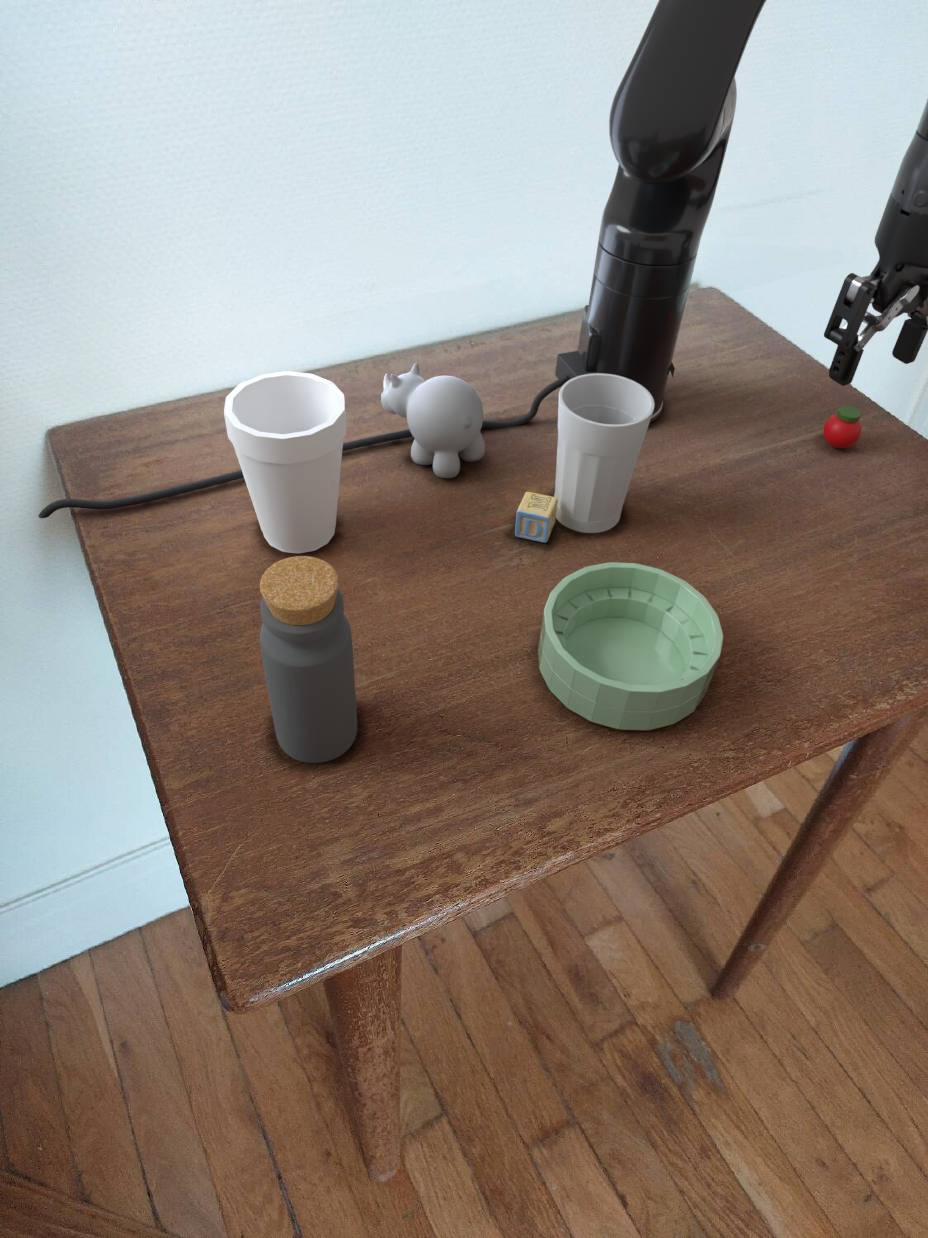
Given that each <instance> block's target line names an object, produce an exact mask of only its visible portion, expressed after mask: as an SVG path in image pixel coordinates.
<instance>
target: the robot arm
mask: <svg viewBox="0 0 928 1238" xmlns="http://www.w3.org/2000/svg"><path fill="white" fill-rule="evenodd" d="M766 2H767V0H658V1H657V4H656V6H655V7H654V10H653V13H652V15H651V17H650V19H649V22H648V24H647V26H646V28H645V30H644V32H643V35H642V36H641V39H640V41H639V43H638V46H637V47H636V50H635V52H634V54H633V56H632V58H631V60H630V62H629V64H628V66H627V69H626V71H625V72H624V74H623V77H622V78H621V81H620V83H619V85H618V87H617V89H616V91H615V93H614V96H613V98H612V103H611V106H610V110H609V118H608V136H609V143H610V146H611V149H612V152H613V156H614V158H615V160H616V162H617V163H618V166H617V170H616V174H615V177H614V181H613V184H612V187H611V190H610V193H609V196H608V198H607V201H606V203H605V206H604V209H603V212H602V216H601V221H600V228H599V234H598V242H597V248H596V254H595V260H594V267H593V273H592V280H591V287H590V293H589V298H588V299H589V300H588V304H586V305H585V306H584V307H583V312H582V319H581V325H580V332H579V338H578V346H577V350H574V351H573V350H572V351H569V352H563V353H562V352H561V353H558V354H557V357H556V365H555V371H554V372H555V373H554V375H555V377H556V378H557V380H554V381H553V382H551V383H550V384H548V385H546V386H545V387H544V388H542V389H541V390H540V391H539V392H538V393H537V394H536V396H535V397H534V399H533V401H532V403H531V407H530V409H529V411H528V412H527V413H525V414H524V415H521V416H520V417H518V418H515V419H512V420H506V421H494V420H493V421H491V420H483V423H482V427H481V429H486V430H487V429H490V430H491V429H502V428H511V427H518V426H522V425H525V424H526V423H528V422H530V421H532V420H533V419H534V418H535V417H536V415H537V414H538V411H539V409H540V405H541V403H542V402H543V400H544V399H545V398H546V397H547V396H548V395H550V394H551V393H553V392H554V391H557V390H558V389H559V388H561V387H562V386H563V385H564V384H565V383H566V382H567V381H569V380H570V379H572V378H575V377H577V376H581V375H585V374H594V373H603V374H612V375H618V376H622V377H625V378H628V379H630V380H633V381H635V382H637V383H638V384H640V385H642V386H643V387H644V388H645V389H647V390H648V391H649V393H650V394H651V395H652V397H653V399H654V404H655V406H654V411H653V414H652V417H651V420H650V422H649V424H651V423H653V422H654V421H656V420H657V419H658V418H659V417H660V415H661V413H662V409H663V405H664V399H665V394H666V388H667V384H668V380H669V376H670V374H671V377H672V378H674V375H675V372H676V371H675V370H676V368H675V366H674V363H673V359H674V355H675V350H676V346H677V342H678V337H679V332H680V330H681V325H682V320H683V317H684V311H685V308H686V304H687V299H688V295H689V290H690V286H691V282H692V278H693V274H694V270H695V265H696V261H697V256H698V252H699V248H700V243H701V240H702V237H703V233H704V229H705V228H706V224H707V221H708V220H709V219H708V218H709V216H710V213H711V210H712V207H713V203H714V199H715V195H716V191H717V187H718V184H719V180H720V176H721V171H722V168H723V164H724V161H725V157H726V152H727V148H728V144H729V140H730V136H731V132H732V128H733V125H734V124H733V123H734V118H735V115H736V114H735V113H736V109H737V98H738V92H737V91H738V90H737V81H736V74H737V71H738V69H739V66H740V64H741V61H742V58H743V55H744V53H745V51H746V50H745V49H746V47H747V45H748V43H749V40H750V37H751V35H752V32H753V30H754V28H755V25H756V23H757V21H758V19H759V17H760V14H761V12H762V10H763V8H764V6H765V4H766ZM874 245H875V247H876V249H877V253H878V256H879V257H878V261H877V263H876V264H875V266H874V268H873V270H872V271H871V272H870V274H869V275H866V276H860V275H858V274H856V273H854V272H850V273H848V274H847V276H846V277H844V280H843V283H842V286H841V288H840V290H839V293H838V296H837V299H836V300H835V304H834V306H833V309H832V311H831V314H830V317H829V319H828V322H827V325H826V326H825V327H826V328H825V330H824V333H823V337H824V338H825V339H827V340H829V341H831V342H832V343H833V344H835V345H837V346H836V350H835V353H834V355H833V358H832V361H831V364H830V365H829V366H830V367H829V368H828V377H829V378H830V379H831V380H832V381H834V382H835V383H837V384H839V385H840V386H842V387H844V386H847V385H850V384H851V383H852V382H853V380H854V378H855V375H856V372H857V370H858V367H859V364H860V361H861V359H862V356H863V353H864V350H865V349H864V347H866V345H867V344H868V343H869V342H870V340H871V339H872V338H873V336H875V334H876V333H878V332H884V331H885V330H886V329H887V328H888V326H889V325H890V324H891V322H892V321H894V319H895V318H898V317H899V316H902V315H903V314H907V317H908V319H907V318H906V319H904V322H903V324H902V325H901V326H902V327H901V329H900V332H899V334H898V336H897V339H896V342H895V344H894V346H893V349H892V351H891V355H892V357H893V358H894V359H896V360H897V361H900V362H901V363H903V364H904V365H909V364H912V363H914V362H915V360H916V359H917V356H918V354H919V352H920V350H921V348H922V345H923V343H924V341H925V338H926V337H927V334H928V98H927V99H926V102H925V105H924V107H923V110H922V113H921V116H920V118H919V121H918V124H917V127H916V130H915V132H914V135H913V136H912V139H911V141H910V143H909V146H908V147H907V149H906V151H905V153H904V155H903V158H902V160H901V163H900V165H899V167H898V171H897V174H896V177H895V179H894V183H893V185H892V188H891V191H890V193H889V196H888V199H887V202H886V205H885V207H884V210H883V213H882V216H881V219H880V222H879V224H878V227H877V230H876V233H875V235H874ZM870 304H871V307H872V309H873V310H874V311H876V313H878V314H879V315H874V314H872V313H871V312H869V311H868V308H869V306H870ZM843 320H844V321H845V322H844V324H842V322H843ZM862 323H864V324H866V326H865V327H864V328H863V330H862V331H861V332H860V334H858V333H859V331H860V328H861V326H862ZM841 325H842V326H841ZM409 438H414V437H413V435H412V433H411V432H410V429H405V430H399V431H394V432H388V433H383V434H378V435H373V436H369V437H363V438H360V439H355V440H351V441H347V442H343V448H342V453H343V452H347V451H350V450H355V449H359V448H364V447H369V446H373V445H377V444H383V443H386V442H393V441H396V440H402V439H409ZM241 479H244V476H243V473H242V470H241V469H240V470H235V471H232V472H228V473H224V474H221V475H220V474H219V475H216V476H213V477H209V478H204V479H201V480H197V481H193V482H188V483H185V484H180V485H176V486H173V487H168V488H164V489H161V490H160V489H159V490H155V491H151V492H147V493H143V494H138V495H133V496H127V497H123V498H122V497H121V498H115V499H109V500H94V499H93V500H92V499H91V500H90V499H81V498H62V499H59V500H55V501H52V502H50V503H49V504H48V505H46V506H45V507H43V508H42V510H41V511H40V513H39V514H38V518H40V519H46V518H49V517H50V516H51V515H52V514H54V512H56V511H58V510H61V509H66V508H76V509H88V510H112V509H119V508H124V507H130V506H136V505H142V504H146V503H149V502H154V501H158V500H162V499H166V498H171V497H174V496H180V495H182V494H186V493H191V492H195V491H199V490H203V489H207V488H210V487H214V486H219V485H222V484H226V483H229V482H233V481H237V480H241Z"/></svg>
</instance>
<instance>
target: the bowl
mask: <svg viewBox="0 0 928 1238" xmlns="http://www.w3.org/2000/svg"><path fill="white" fill-rule="evenodd" d="M723 641H724V632H723V629H722V625H721V622H720V618H719V615H718V613H717V612H716V611H715V609H714V608H713V606H712V605H711V603H710V602H709V600H708V599H707V598H706V596H705V595H703V594H702V593H701V592H699V590H698V589H696V588H695V587H693V586H692V585H691V584H690V583H689V582H688V581H686V580H684V579H682V578H680V577H678V576H676V575H674V574H672V573H670V572H668V571H666V570H665V569H661V568H658V567H653V566H649V565H645V564H641V563H635V562H618V561H617V562H616V561H614V562H612V561H611V562H610V561H609V562H604V563H599V564H593V565H588V566H585V567H582V568H580V569H578V570H576V571H574V572H573V573H570V574H569V575H566V576H565V577H564V578H563V579H561V580H560V582H559V583H558V584H557V585H556V586H555V587H554V588H553V589H552V590H551V591H550V593H549V596H548V598H547V601H546V603H545V606H544V609H543V614H542V621H541V627H540V634H539V640H538V648H537V656H538V657H537V658H538V668H539V671H540V673H541V675H542V678H543V679H544V682H545V684H546V687H547V688H548V689H549V692H551V693H552V694H553V696H555V697H556V699H558V700H559V701H560V702H561V703H562V704H563V705H564V706H565V707H566V708H567V709H568V710H570V711H571V712H573V713H575V714H576V715H579V716H580V717H582V718H584V719H586V720H587V721H589V722H591V723H594V724H597V725H601V726H604V727H607V728H612V729H615V730H620V731H652V730H655V729H660V728H664V727H667V726H671V725H674V724H676V723H678V722H680V721H681V720H682V719H684V718H686V717H687V716H689V715H690V714H692V713H694V711H695V710H696V709H697V707H698V706H699V705H700V703H701V702H702V701H703V699H704V697H705V696H706V695H707V692H708V689H709V687H710V684H711V681H712V679H713V676H714V673H715V671H716V668H717V665H718V662H719V660H720V657H721V653H722V648H723Z"/></svg>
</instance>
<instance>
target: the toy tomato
mask: <svg viewBox="0 0 928 1238" xmlns="http://www.w3.org/2000/svg"><path fill="white" fill-rule="evenodd" d="M861 416H862V412H861V410H860V409H859V408H857V407H855V406H852V405H842V406H840V407H839V408H838V410H837V412H836V413H834V414H833V415H831V416H830V417H829V418H828V419H827V420H826V421H825V423H824V425H823V430H822V434H823V439H824V440H825V442H826V443H827V444H828V445H829V446H831V447H832V448H835V449H846V448H849V447H852V446H853V445H854V444H856V443H857V442H858V441H859V439H860V438H861V434H862V424H861V421H860V418H861Z"/></svg>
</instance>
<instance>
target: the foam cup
mask: <svg viewBox="0 0 928 1238" xmlns="http://www.w3.org/2000/svg"><path fill="white" fill-rule="evenodd" d="M345 399H346V398H345V394H344V393H343V392H342V390H341V389H340V388H338V386H337V385H336V383H334V382H333V381H331V380H329V379H326V378H323V377H322V376H319V375H316V374H314V373H308V372H300V371H289V370H284V371H276V372H271V373H270V372H269V373H264V374H263V373H262V374H259V375H257V376H254V377H252V378H250V379H248V380H245V381H242V382H240V383H238V384H237V385H236V387H234V388H233V390H231V391H230V393H228V394H227V396H225V400H224V407H223V415H224V422H225V427H226V433H227V438H228V440H229V441H230V443H231V444H232V445H233V448H234V453H235V455H236V457H237V458H236V459H237V460H238V463H239V467H240V470H242V473H243V476H244V478H243V479H244V482H245V485H246V487H247V491H248V493H249V497H250V500H251V502H252V505H253V509H254V511H255V514H256V517H257V520H258V521H257V522H258V524H259V527H260V530H261V532H262V533H263V537H264V539H265V540H266V542H267V543H268V544H269V546H271V547H272V548H275V549H276V550H278V551H280V552H282V553H289V554H297V555H299V554H304V553H309V552H314V551H315V552H316V551H317V550H319V549H320V548H322V547H324V546H326V545H328V544H329V542H330V541H331V540H332V538H333V537H334V536H335V532H336V530H335V529H336V526H337V514H338V504H339V503H338V502H339V492H340V481H341V472H342V471H341V470H342V460H343V459H342V457H343V452H342V448H343V443H344V438H346V436H347V419H346V417H347V416H346V404H345V403H346V401H345Z"/></svg>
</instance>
